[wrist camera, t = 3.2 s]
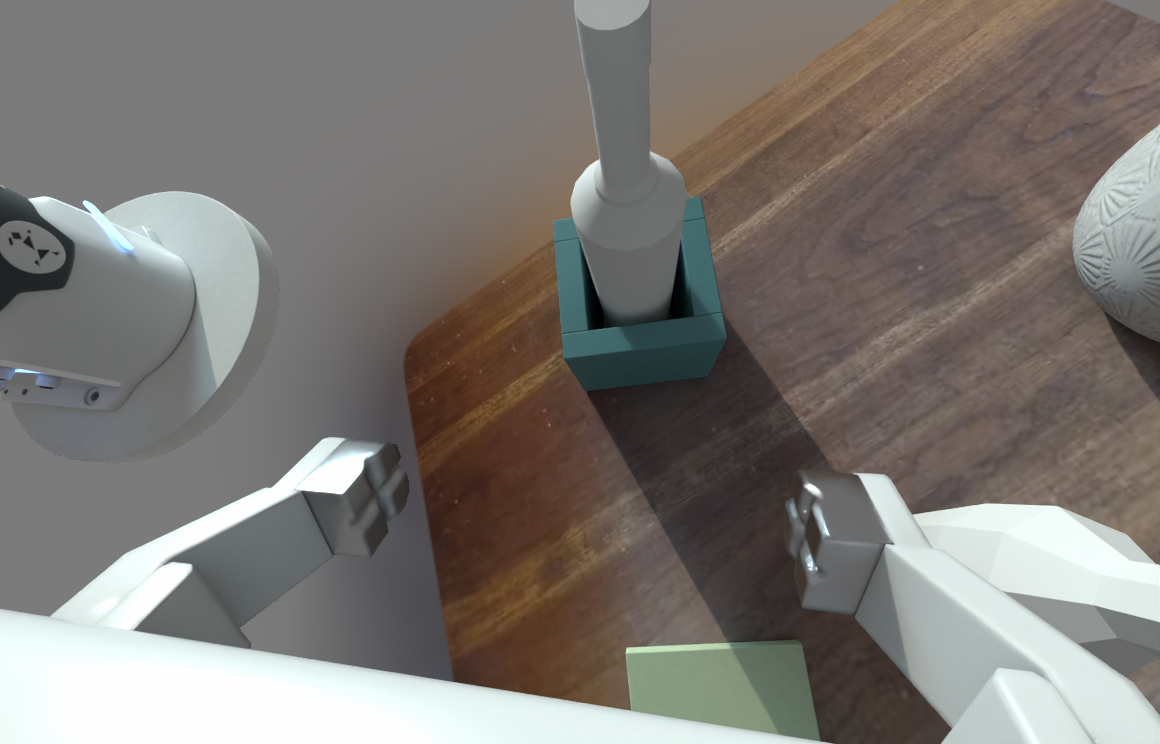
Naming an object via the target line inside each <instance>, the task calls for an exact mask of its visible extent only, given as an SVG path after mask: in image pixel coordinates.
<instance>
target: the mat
mask: <svg viewBox="0 0 1160 744" xmlns="http://www.w3.org/2000/svg"><path fill="white" fill-rule="evenodd" d="M626 661H627V671H628V681H629V691H630V701H631V711H635V712H641V713H647V714H654V715H660V716H666V717H672V718H678V719H684V720H691V721H697V722H703V723H709V724H715V725H721V726H728V727H734V728H740V729H746V730H752V731H758V732H765V733H771V734H777V735H783V736H789V737H796V738H802V739H808V740H814V741H820V742H821V740H820V734H819V729H818V724H817V719H816V714H815V709H814V703H813V698H812V693H811V688H810V683H809V678H808V672H807V667H806V662H805V657H804V652H803V647H802V644H801V643H800V642H799V641H798V640H777V641H757V642H736V643H715V644H695V645H674V646H653V647H632V648H627V649H626Z"/></svg>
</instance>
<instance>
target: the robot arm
mask: <svg viewBox="0 0 1160 744" xmlns="http://www.w3.org/2000/svg"><path fill="white" fill-rule="evenodd" d="M83 204H84V205H85V206H86V207H87V208H88V209H89V210H90V211H91V213H92V214H93V215H92V214H90V213H87V212H85V211H82V210H80V209H78V208H75V207H73V206H71V205H68V204H66V203H63V202H61V201H58V200H56V199H53V198H49V197H40V198H31V199H27V198H25V197H24V196H22V195H20V194H18V193H16V192H13V191H11V190H9V189H7V188H5V187H3V186H1V184H0V401H2V402H11V403H21V404H31V405H41V406H51V407H61V408H71V409H81V410H91V411H101V412H114V411H116V410H118V409H119V408H120V407H121V406H122V405H123V404H124V403H125V402H126V400H127V399H128V398H129V396H130V395H131V394H132V392H133V391H134V389H135V388H136V386H137V385H138V384H139V383H140V382H141V381H142V380H143V379H144V378H145V377H147V376H148V375H149V374H150V373H152V372H153V371H154V370H155V369H157V368H158V367H159V366H160V365H161V364H162V363H163V362H164V361H165V360H166V359H167V358H168V357H169V356H170V355H171V353H172V352H173V351H174V350H175V348H176V347H177V345H178V344H179V342H180V341H181V339H182V337H183V336H184V334H185V332H186V330H187V327H188V325H189V322H190V320H191V316H192V313H193V308H194V302H195V286H194V280H193V276H192V274H191V271H190V269H189V267H188V266H187V264H186V263H185V262H184V261H183V260H182V259H181V258H180V257H179V256H178V255H176V254H174V253H173V252H171V251H169V250H167V249H166V248H165V247H163V246H162V244H161V242H160V240H159V238H158V236H157V234H156V233H155V232H154V231H153V230H150V229H148V228H146V227H143V226H134V227H131V228H129V229H125V228H123V227H120V226H118V225H116V224H113V223H111V222H109V221H108V220H107V219H106V218H105V217H104V216H103V215H102V214H101V213H100V212H99V210H98V209H97V208H96V207H95V206H94V205H93V204H91V203H89V202H87V201H84V202H83ZM400 458H401V455H400V453H399V450H398V447H397V445H396V444H393V443H391V442H382V441H372V440H361V439H346V438H335V437H329V438H326V439H323V440H321V441H320V442H319V443H318V444H317V445H316V446H315V447H314V448H313V449H312V450H311V451H310V452H309V453H308V454H307V455H306V456H305V457H304V458H303V459H302V460H300V461H299V462H298V463H297V464H296V465H295V466H294V467H293V468H292V469H291V470H290V471H289V472H288V473H287V474H286V475H285V476H284V477H283V478H282V479H281V480H280V481H279V482H278V483H277V484H275V485H274V486H273V487H272V488H263V489H261V490H259V491H257V492H255V493H253V494H251V495H249V496H246V497H244V498H242V499H240V500H238V501H236V502H234V503H232V504H230V505H227V506H225V507H223V508H221V509H219V510H217V511H215V512H213V513H211V514H208V515H206V516H204V517H202V518H200V519H198V520H196V521H194V522H191V523H189V524H187V525H185V526H183V527H181V528H179V529H177V530H175V531H173V532H170V533H168V534H166V535H164V536H162V537H160V538H158V539H155V540H153V541H151V542H149V543H147V544H145V545H143V546H141V547H139V548H136V549H135V550H132V551H130V552H128V553H126V554H125V555H123V556H122V557H121V558H120V559H119V560H117V561H116V562H115V563H114V564H113V565H111V566H110V567H109V568H108V569H107V570H106V571H104V572H103V573H102V574H100V575H99V576H98V577H97V578H96V579H94V580H93V581H92V582H91V583H90V584H88V585H87V586H86V587H85V588H84V589H82V590H81V591H80V592H79V593H78V594H76V595H75V596H74V597H73V598H72V599H70V600H69V601H68V602H67V603H66V604H64V605H63V606H62V607H61V608H59V609H58V610H57V611H56V612H55V613H53V614H52V615H51V616H50V617H46V616H40V615H34V614H27V613H21V612H15V611H9V610H3V609H0V744H833V743H827V742H820V741H814V740H808V739H802V738H796V737H789V736H783V735H777V734H771V733H765V732H758V731H752V730H746V729H740V728H734V727H728V726H721V725H715V724H709V723H703V722H697V721H691V720H684V719H678V718H672V717H666V716H660V715H654V714H647V713H641V712H635V711H629V710H623V709H617V708H610V707H604V706H598V705H592V704H586V703H580V702H573V701H567V700H561V699H555V698H549V697H543V696H536V695H530V694H524V693H518V692H512V691H505V690H499V689H493V688H487V687H480V686H474V685H468V684H462V683H456V682H449V681H443V680H437V679H430V678H424V677H418V676H412V675H406V674H400V673H393V672H387V671H380V670H375V669H368V668H362V667H356V666H350V665H343V664H337V663H331V662H325V661H319V660H312V659H306V658H300V657H294V656H287V655H281V654H275V653H269V652H262V651H257V650H251V643H250V641H249V640H248V639H247V637H246V636H245V635H244V634H243V632H242V631H241V629H240V627H241V626H243V625H244V624H245V623H247V622H248V621H249V620H251V619H252V618H253V617H255V616H256V615H257V614H258V613H260V612H261V611H263V610H264V609H265V608H267V607H268V606H269V605H271V604H272V603H273V602H274V601H276V600H277V599H278V598H280V597H281V596H282V595H284V594H285V593H286V592H288V591H289V590H290V589H292V588H293V587H294V586H296V585H297V584H298V583H300V582H301V581H302V580H304V579H305V578H306V577H308V576H309V575H310V574H312V573H313V572H314V571H316V570H317V569H318V568H320V567H321V566H322V565H323V564H325V563H326V562H328V561H329V560H330V559H331V558H333V555H342V556H354V557H366V558H371V557H372V556H373V554H374V553H375V551H376V550H377V548H378V546H379V545H380V543H381V542H382V541H383V539H384V537H385V536H386V534H387V533H388V527H387V522H389V521H391V520H392V519H394V518H395V517H397V516H399V514H400V513H401V511H402V510H403V508H404V506H405V504H406V502H407V497H408V494H409V480H408V476H407V473H406V472H405V471H404V470H403V469H402V468H401V467H400V466H399V465H398V462H399V460H400ZM789 486H790V489H791V493H792V496H793V497H792V498H791V499H789V500H788V501H787V502H785V506H784V511H783V517H782V532H783V539H784V544H785V548H786V552H787V554H788V555H789V556H791V557H792V558H793V559H794V560H795V561H796V563H795V567H794V570H793V578H794V581H795V585H796V589H797V592H798V596H799V600H800V603H801V607H802V608H805V609H812V610H819V611H826V612H833V613H840V614H847V615H854V616H855V617H854V618H855V619H856V620H857V622H858V623H859V624H860V625H861V626H862V627H863V628H864V630H865V631H866V632H867V633H868V634H869V635H870V636H871V638H872V639H873V640H874V641H875V642H876V643H877V644H878V645H879V647H880V648H881V649H882V650H883V651H884V652H885V653H886V655H887V656H888V657H889V658H890V659H891V660H892V661H893V662H894V664H895V665H896V666H897V667H898V668H899V669H900V670H901V672H902V673H903V674H904V675H905V676H906V677H907V678H908V680H909V681H910V682H911V683H912V684H913V685H914V686H915V687H916V689H917V690H918V691H919V692H920V693H921V694H922V695H923V697H924V698H925V699H926V700H927V701H928V702H929V703H930V704H931V706H932V707H933V708H934V709H935V710H936V711H937V712H938V714H939V715H940V716H941V717H942V718H943V719H944V720H945V722H946V723H947V724H948V725H949V726H950V727H951V728H952V730H951V731H950V732H949V734H948V735H947V736H946V737H945V739H944V740H943V741H942V743H941V744H1160V715H1159V714H1158V713H1157V712H1156V710H1155V709H1154V708H1153V707H1152V706H1151V704H1150V703H1149V702H1148V701H1147V699H1146V698H1145V697H1144V696H1143V694H1142V693H1141V692H1140V691H1139V689H1138V688H1137V687H1136V686H1135V684H1134V683H1133V682H1131V681H1130V680H1129V679H1127V678H1126V677H1124V676H1123V675H1121V674H1120V673H1119V672H1117V671H1116V670H1114V669H1113V668H1111V667H1110V666H1109V665H1107V664H1106V663H1104V662H1103V661H1101V660H1100V659H1099V658H1097V657H1096V656H1094V655H1093V654H1091V653H1090V652H1089V651H1087V650H1086V649H1084V648H1083V647H1081V646H1080V645H1079V644H1077V643H1076V642H1074V641H1073V640H1071V639H1070V638H1069V637H1067V636H1066V635H1064V634H1063V633H1061V632H1060V631H1059V630H1057V629H1056V628H1054V627H1053V626H1051V625H1050V624H1049V623H1047V622H1046V621H1044V620H1043V619H1041V618H1040V617H1039V616H1037V615H1036V614H1034V613H1033V612H1031V611H1030V610H1029V609H1027V608H1026V607H1024V606H1023V605H1021V604H1020V603H1019V602H1017V601H1016V600H1014V599H1013V598H1011V597H1010V596H1009V595H1007V594H1006V593H1004V592H1003V591H1001V590H1000V589H999V588H997V587H996V586H994V585H993V584H991V583H990V582H989V581H987V580H986V579H984V578H983V577H981V576H980V575H979V574H977V573H976V572H974V571H973V570H971V569H970V568H969V567H967V566H966V565H964V564H963V563H961V562H960V561H959V560H957V559H956V558H954V557H953V556H951V555H950V554H949V553H947V552H946V551H944V550H941V549H933V548H932V546H931V545H930V543H929V541H928V540H927V538H926V536H925V535H924V533H923V532H922V530H921V528H920V527H919V525H918V523H917V522H916V520H915V518H914V517H913V515H912V514H911V512H910V510H909V509H908V507H907V505H906V504H905V502H904V500H903V499H902V497H901V496H900V494H899V492H898V491H897V489H896V487H895V486H894V484H893V482H892V481H891V479H890V478H889V477H887V476H886V475H884V474H865V473H853V474H852V473H839V472H822V471H806V470H795V471H794V473H793V474H792V477H791V481H790V485H789Z"/></svg>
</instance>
